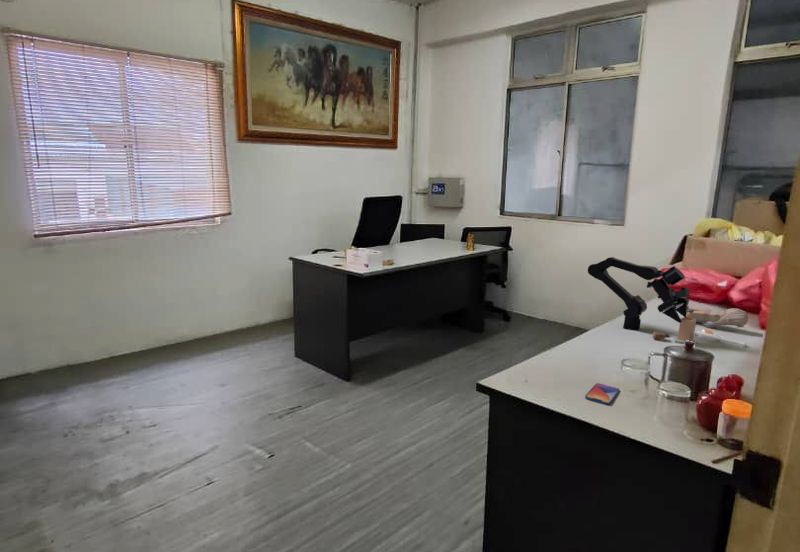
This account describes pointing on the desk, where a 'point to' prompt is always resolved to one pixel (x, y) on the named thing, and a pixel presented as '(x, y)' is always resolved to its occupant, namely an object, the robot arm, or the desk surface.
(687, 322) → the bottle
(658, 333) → the walnut block
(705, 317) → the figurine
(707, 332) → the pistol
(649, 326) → the desk surface
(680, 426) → the desk surface
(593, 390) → the smartphone
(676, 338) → the mat
